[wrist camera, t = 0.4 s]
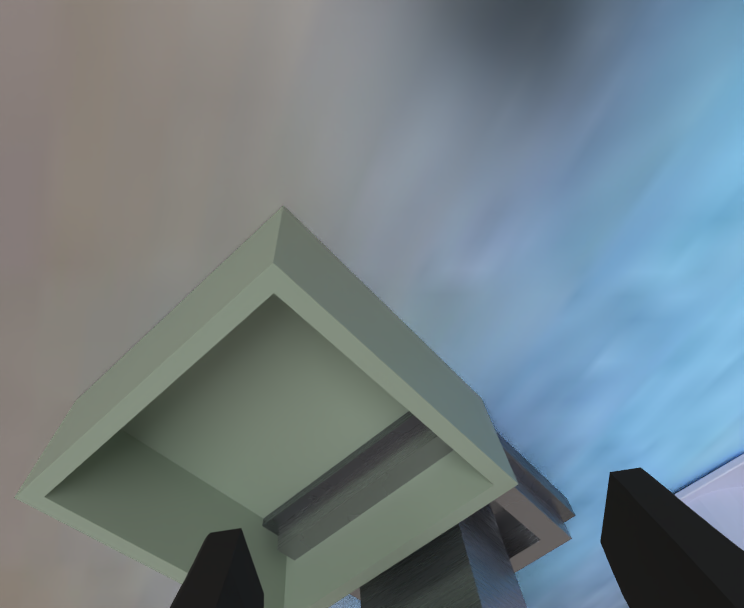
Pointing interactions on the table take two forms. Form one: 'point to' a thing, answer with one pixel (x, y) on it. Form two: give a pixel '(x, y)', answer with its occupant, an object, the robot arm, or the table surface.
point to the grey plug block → (451, 572)
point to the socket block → (397, 467)
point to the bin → (266, 425)
